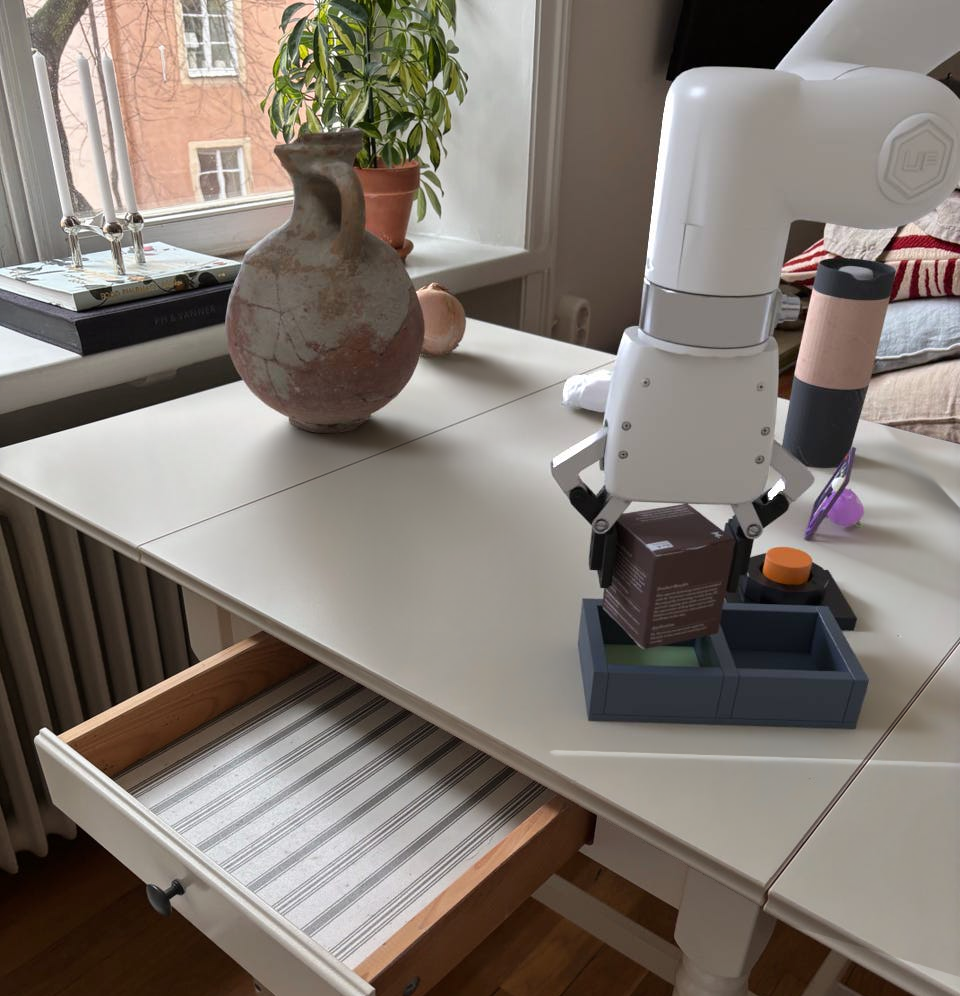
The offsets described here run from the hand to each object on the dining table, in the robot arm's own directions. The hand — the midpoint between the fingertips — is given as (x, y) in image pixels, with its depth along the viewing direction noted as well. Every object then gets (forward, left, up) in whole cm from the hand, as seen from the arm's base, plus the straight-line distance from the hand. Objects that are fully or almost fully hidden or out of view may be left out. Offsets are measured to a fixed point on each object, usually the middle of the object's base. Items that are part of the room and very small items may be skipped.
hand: (664, 579), depth 67 cm
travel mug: (-24, -45, -9) cm, 52 cm away
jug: (+30, -51, -9) cm, 60 cm away
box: (0, 0, -4) cm, 4 cm away
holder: (-4, 0, -9) cm, 10 cm away
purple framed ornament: (-21, -27, -9) cm, 35 cm away
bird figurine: (-1, -56, -9) cm, 57 cm away
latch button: (-12, -12, -6) cm, 18 cm away
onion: (+20, -78, -9) cm, 81 cm away
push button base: (-12, -12, -9) cm, 19 cm away
